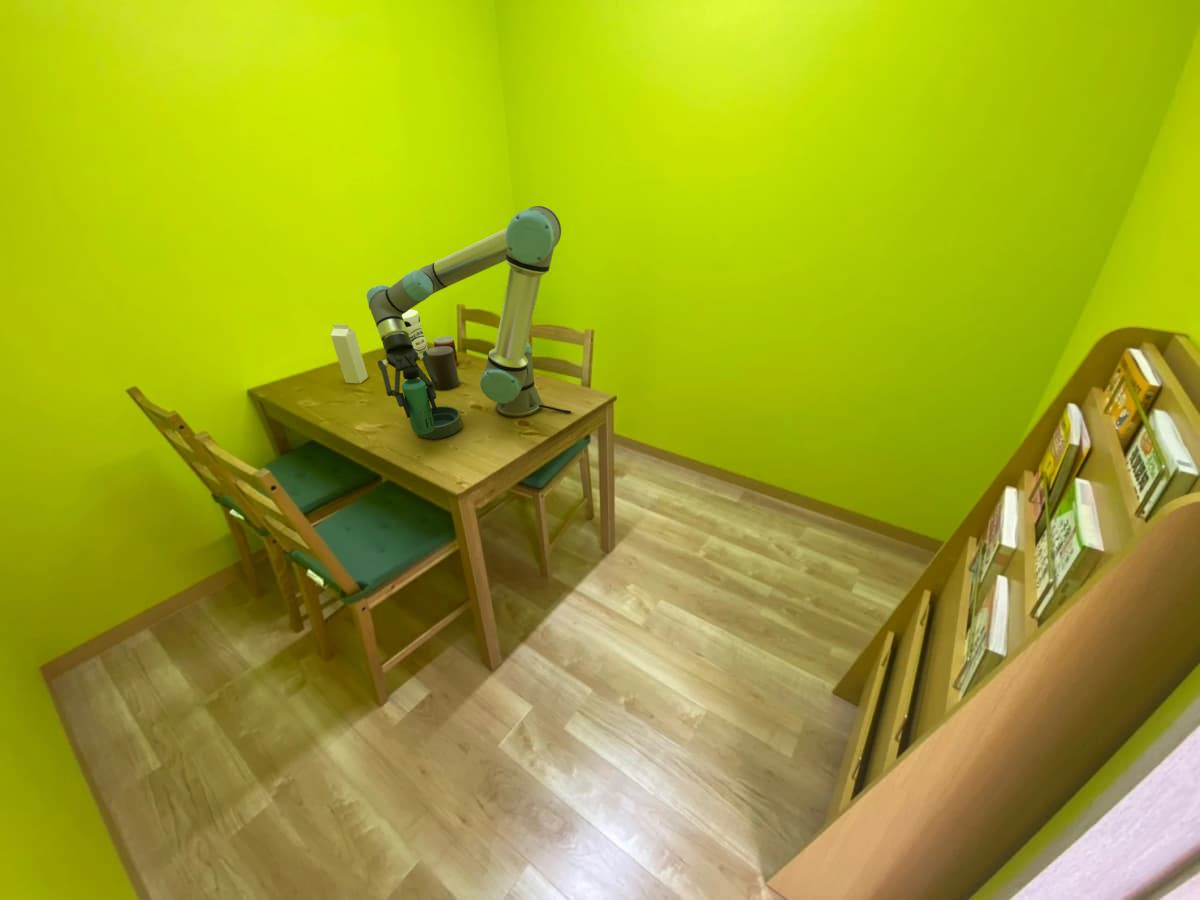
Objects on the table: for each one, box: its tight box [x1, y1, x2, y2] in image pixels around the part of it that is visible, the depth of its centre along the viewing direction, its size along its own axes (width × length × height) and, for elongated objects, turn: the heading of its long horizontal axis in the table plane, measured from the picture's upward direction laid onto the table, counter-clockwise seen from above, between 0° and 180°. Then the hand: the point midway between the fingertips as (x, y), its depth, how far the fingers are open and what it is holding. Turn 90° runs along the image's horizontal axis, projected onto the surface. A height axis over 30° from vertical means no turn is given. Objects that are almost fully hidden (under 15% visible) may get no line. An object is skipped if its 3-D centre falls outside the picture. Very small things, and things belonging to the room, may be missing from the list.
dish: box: [417, 405, 463, 440], centre depth 152 cm, size 14×14×4 cm
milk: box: [330, 323, 369, 385], centre depth 180 cm, size 6×6×22 cm
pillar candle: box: [426, 346, 460, 391], centre depth 177 cm, size 10×10×15 cm
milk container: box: [402, 308, 429, 353], centre depth 203 cm, size 17×17×18 cm
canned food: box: [433, 335, 459, 366], centre depth 195 cm, size 8×8×11 cm
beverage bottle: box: [401, 368, 435, 435], centre depth 134 cm, size 6×7×20 cm
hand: (422, 412), depth 132 cm, fingers closed on beverage bottle, 6 cm apart
